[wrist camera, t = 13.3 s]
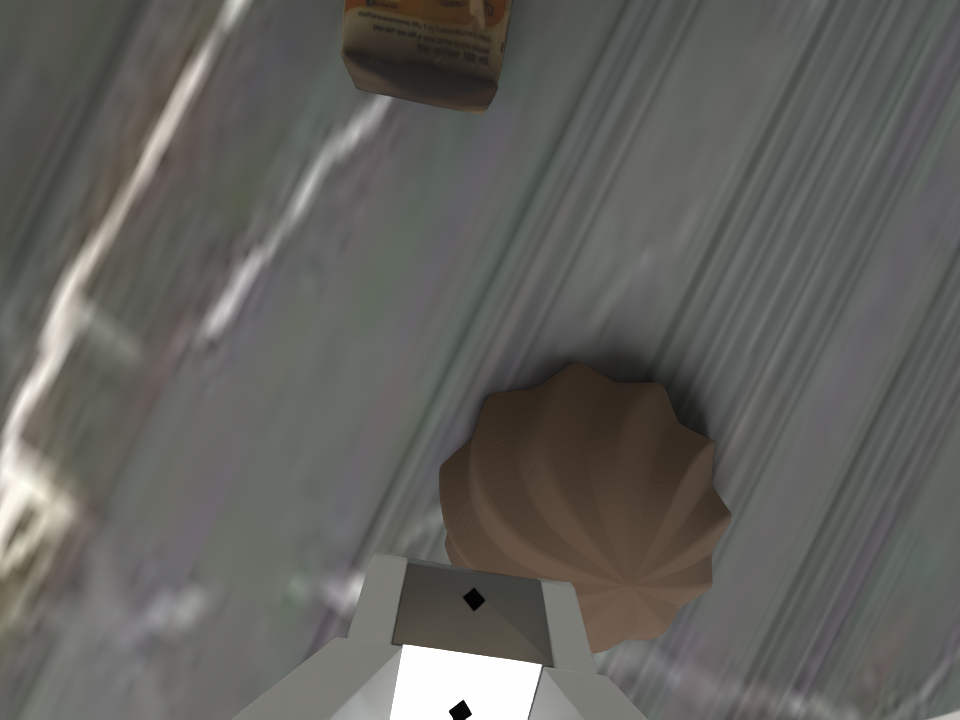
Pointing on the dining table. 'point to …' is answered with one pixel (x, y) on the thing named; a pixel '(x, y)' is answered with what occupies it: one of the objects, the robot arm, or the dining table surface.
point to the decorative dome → (589, 500)
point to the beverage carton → (427, 49)
